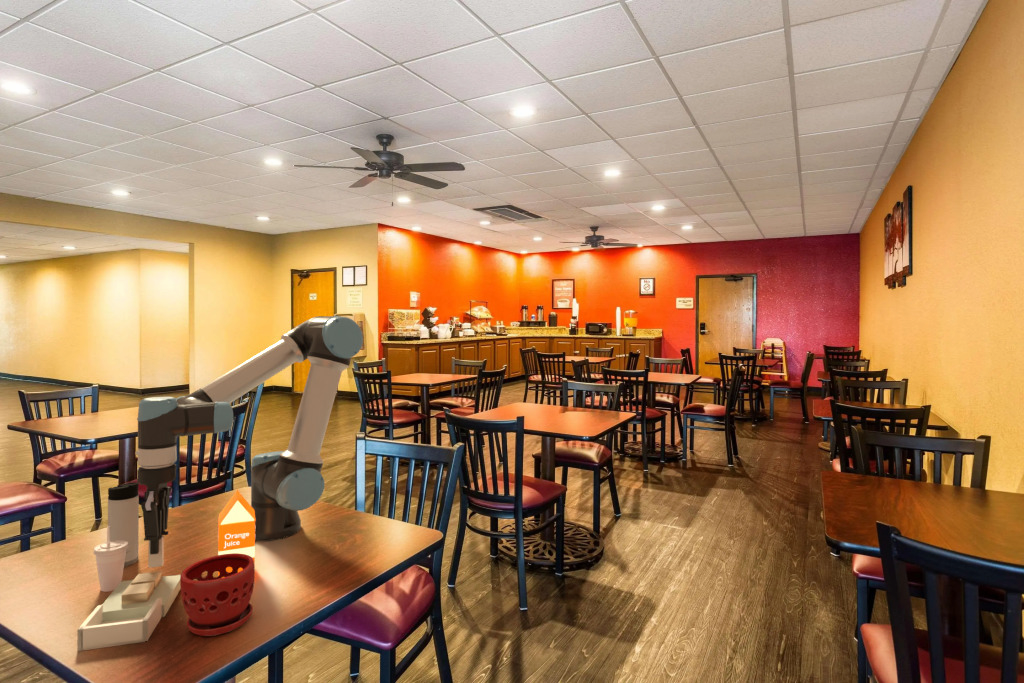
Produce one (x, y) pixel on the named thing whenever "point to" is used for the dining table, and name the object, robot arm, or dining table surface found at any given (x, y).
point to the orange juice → (237, 528)
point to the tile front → (137, 593)
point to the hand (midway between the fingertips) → (156, 565)
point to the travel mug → (124, 518)
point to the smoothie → (110, 562)
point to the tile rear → (148, 578)
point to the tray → (117, 629)
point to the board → (127, 611)
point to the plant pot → (218, 593)
